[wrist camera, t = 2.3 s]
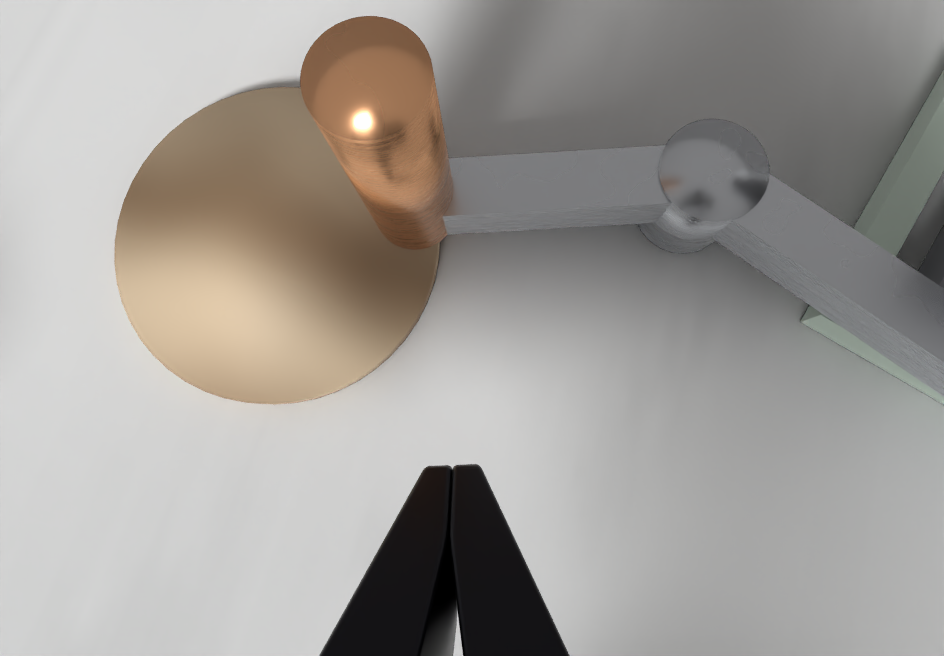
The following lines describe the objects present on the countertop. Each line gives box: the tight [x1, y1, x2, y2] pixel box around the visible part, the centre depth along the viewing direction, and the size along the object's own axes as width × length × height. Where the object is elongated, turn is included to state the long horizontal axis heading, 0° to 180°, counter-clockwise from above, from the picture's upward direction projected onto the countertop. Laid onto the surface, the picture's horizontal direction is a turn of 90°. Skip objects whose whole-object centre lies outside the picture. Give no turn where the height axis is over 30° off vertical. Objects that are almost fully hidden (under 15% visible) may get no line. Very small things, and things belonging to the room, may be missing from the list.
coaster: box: [115, 87, 440, 404], centre depth 19 cm, size 10×10×1 cm
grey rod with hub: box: [300, 16, 944, 397], centre depth 14 cm, size 21×8×8 cm, turn 53°
